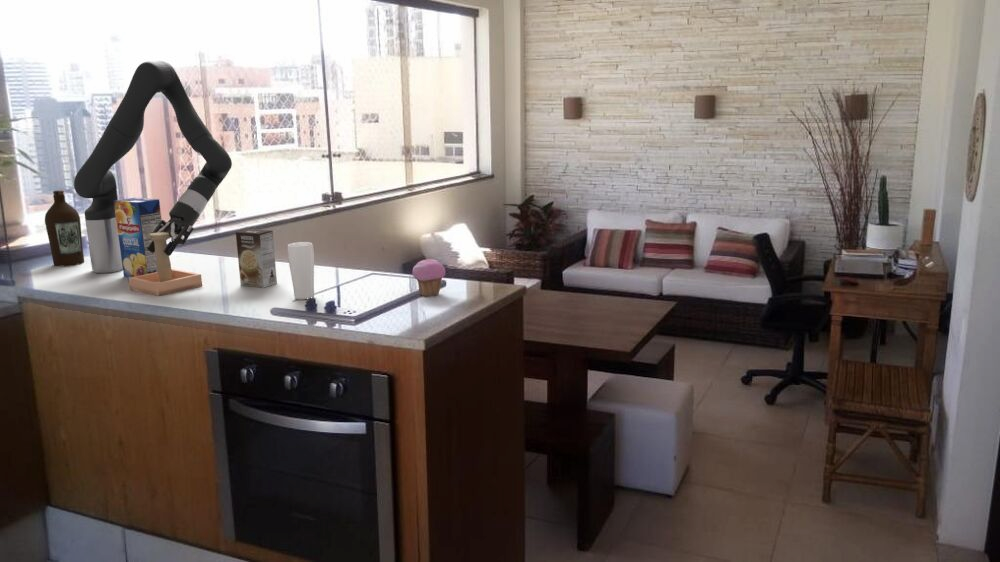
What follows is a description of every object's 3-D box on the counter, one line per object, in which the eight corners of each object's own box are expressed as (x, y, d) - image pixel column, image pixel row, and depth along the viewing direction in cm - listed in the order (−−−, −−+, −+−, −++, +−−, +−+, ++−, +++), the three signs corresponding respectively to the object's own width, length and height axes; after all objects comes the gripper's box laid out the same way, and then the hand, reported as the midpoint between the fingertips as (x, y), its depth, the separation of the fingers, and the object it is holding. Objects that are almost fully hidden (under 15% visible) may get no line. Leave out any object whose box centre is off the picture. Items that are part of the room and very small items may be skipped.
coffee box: (239, 285, 242) (233, 231, 238) (254, 280, 247) (249, 228, 244) (264, 288, 238) (258, 233, 234) (278, 283, 243) (273, 229, 240)
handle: (164, 286, 238) (156, 235, 234) (153, 284, 242) (145, 234, 238) (179, 283, 241) (172, 233, 238) (168, 281, 245) (161, 231, 242)
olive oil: (47, 264, 282) (36, 191, 276) (80, 259, 289) (69, 188, 283) (57, 268, 274) (45, 193, 268) (90, 263, 281) (80, 190, 276)
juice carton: (123, 276, 258) (113, 200, 253) (144, 271, 265) (134, 197, 259) (148, 280, 252) (138, 202, 247) (168, 275, 259) (159, 199, 253)
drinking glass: (304, 302, 220) (299, 247, 217) (286, 299, 224) (281, 245, 220) (322, 296, 226) (318, 242, 222) (304, 293, 229) (300, 241, 226)
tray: (130, 289, 240) (128, 277, 240) (173, 280, 251) (172, 268, 251) (158, 295, 232) (157, 283, 231) (202, 285, 243) (201, 274, 242)
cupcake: (441, 290, 229) (439, 254, 227) (450, 296, 221) (448, 260, 219) (410, 293, 226) (408, 258, 224) (418, 300, 218) (416, 263, 216)
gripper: (166, 199, 246) (134, 243, 240) (193, 201, 238) (162, 247, 231) (183, 214, 251) (153, 257, 245) (211, 217, 243) (181, 262, 237)
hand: (158, 252), depth 238 cm, fingers open, 8 cm apart
